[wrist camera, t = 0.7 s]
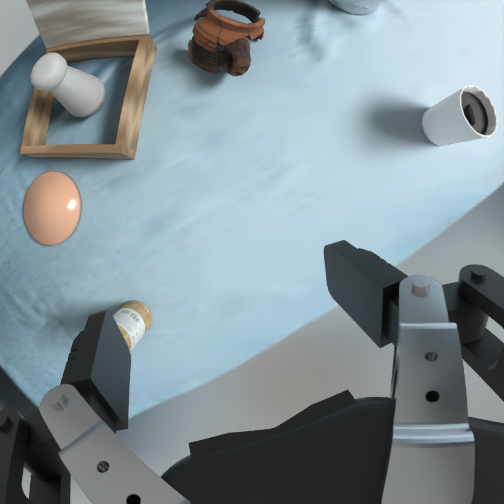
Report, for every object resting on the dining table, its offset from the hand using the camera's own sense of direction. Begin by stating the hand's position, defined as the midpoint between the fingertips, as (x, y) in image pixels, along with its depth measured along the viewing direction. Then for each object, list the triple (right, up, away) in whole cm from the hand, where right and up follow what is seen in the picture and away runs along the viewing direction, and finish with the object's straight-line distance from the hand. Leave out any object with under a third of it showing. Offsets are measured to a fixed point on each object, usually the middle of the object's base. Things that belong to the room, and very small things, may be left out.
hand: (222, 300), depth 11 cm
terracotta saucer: (-26, +8, +26) cm, 38 cm away
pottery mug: (-2, +28, +24) cm, 37 cm away
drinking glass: (+27, +20, +26) cm, 42 cm away
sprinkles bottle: (-14, -7, +28) cm, 32 cm away
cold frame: (-20, +25, +24) cm, 40 cm away
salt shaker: (-21, +22, +24) cm, 39 cm away
